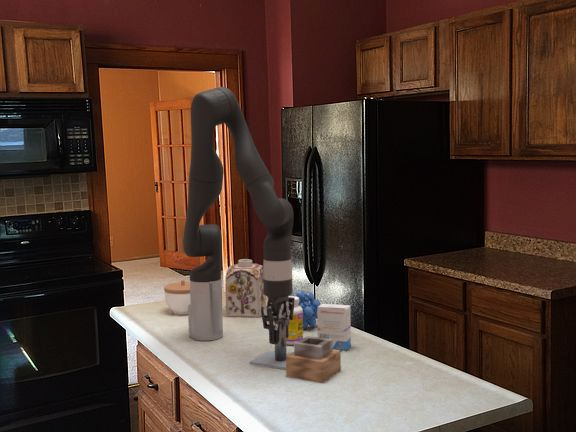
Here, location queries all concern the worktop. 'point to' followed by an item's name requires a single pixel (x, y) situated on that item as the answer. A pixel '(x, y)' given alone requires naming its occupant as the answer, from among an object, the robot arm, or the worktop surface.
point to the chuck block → (313, 359)
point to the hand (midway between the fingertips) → (279, 340)
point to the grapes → (308, 308)
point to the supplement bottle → (295, 324)
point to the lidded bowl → (178, 297)
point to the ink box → (335, 325)
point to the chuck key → (281, 339)
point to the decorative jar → (244, 289)
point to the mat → (269, 360)
